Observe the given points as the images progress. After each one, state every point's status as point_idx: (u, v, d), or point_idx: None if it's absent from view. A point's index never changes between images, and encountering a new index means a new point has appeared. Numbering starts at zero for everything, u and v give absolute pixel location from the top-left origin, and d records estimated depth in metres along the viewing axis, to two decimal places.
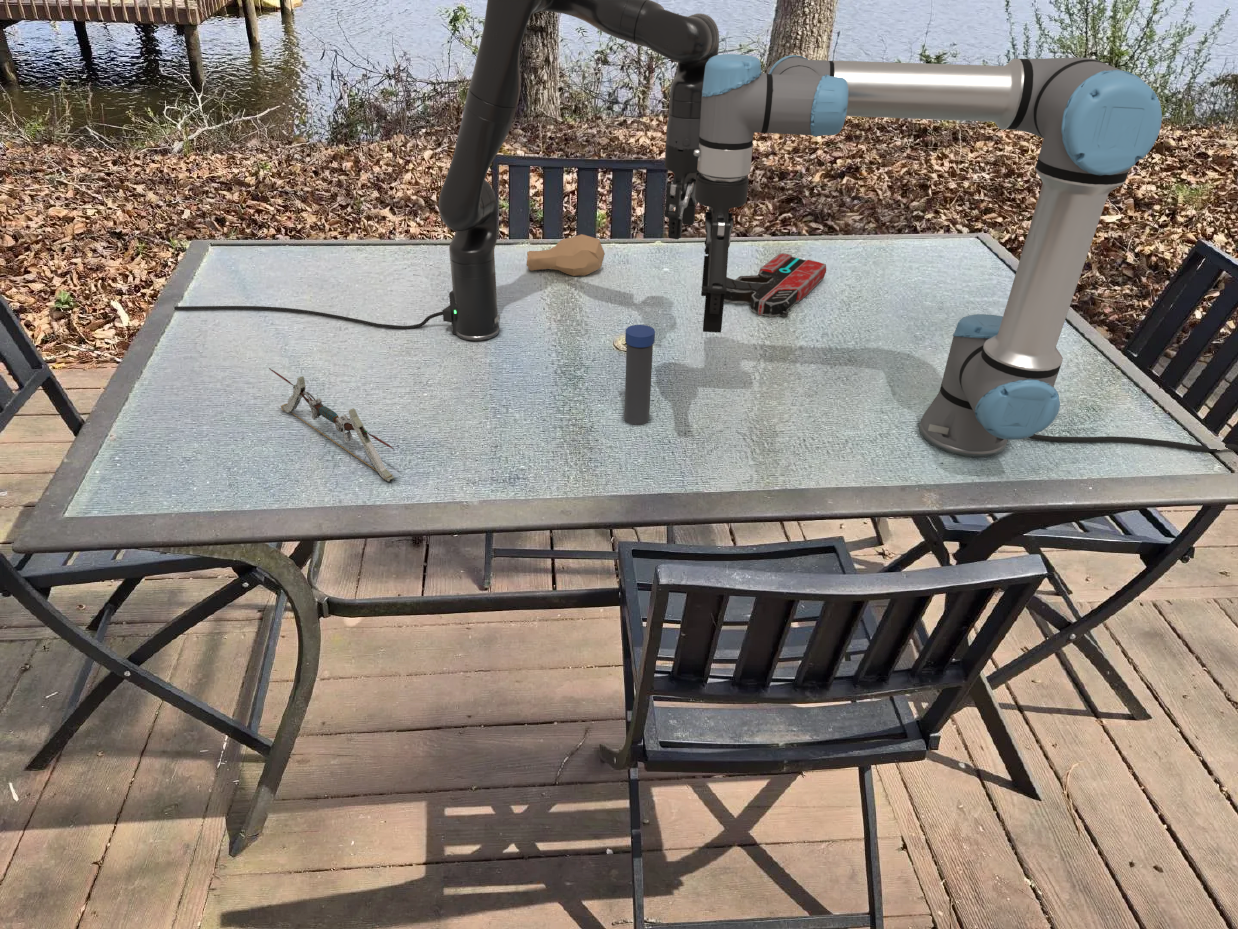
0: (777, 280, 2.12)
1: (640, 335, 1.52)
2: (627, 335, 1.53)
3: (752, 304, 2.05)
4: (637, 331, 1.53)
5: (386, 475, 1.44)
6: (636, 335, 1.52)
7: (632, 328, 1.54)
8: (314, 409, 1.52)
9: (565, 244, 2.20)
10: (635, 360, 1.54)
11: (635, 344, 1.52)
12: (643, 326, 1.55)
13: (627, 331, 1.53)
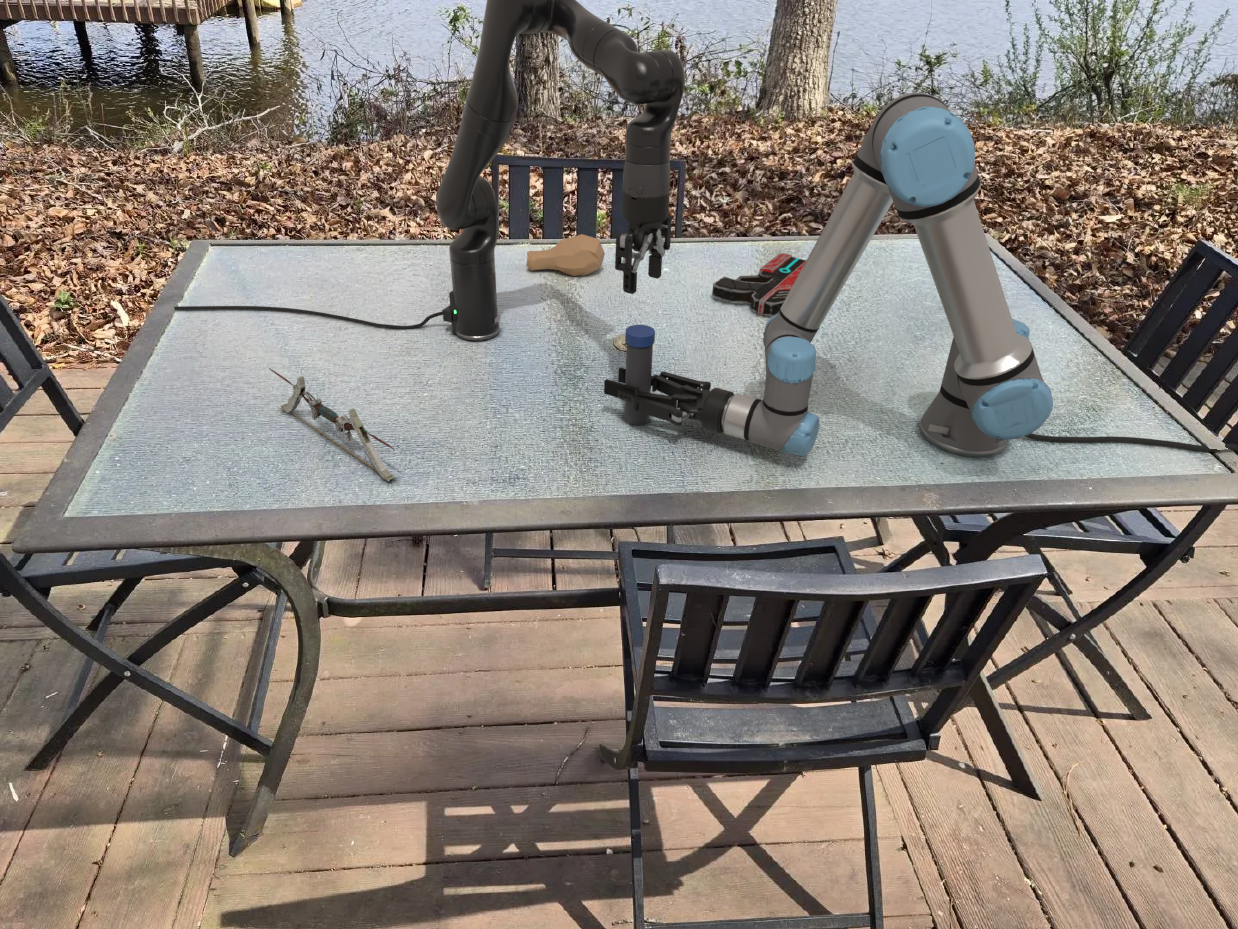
0: (777, 280, 2.12)
1: (640, 335, 1.52)
2: (627, 335, 1.53)
3: (752, 304, 2.05)
4: (637, 331, 1.53)
5: (386, 475, 1.44)
6: (636, 335, 1.52)
7: (632, 328, 1.54)
8: (314, 409, 1.52)
9: (565, 244, 2.20)
10: (635, 360, 1.54)
11: (635, 344, 1.52)
12: (643, 326, 1.55)
13: (627, 331, 1.53)
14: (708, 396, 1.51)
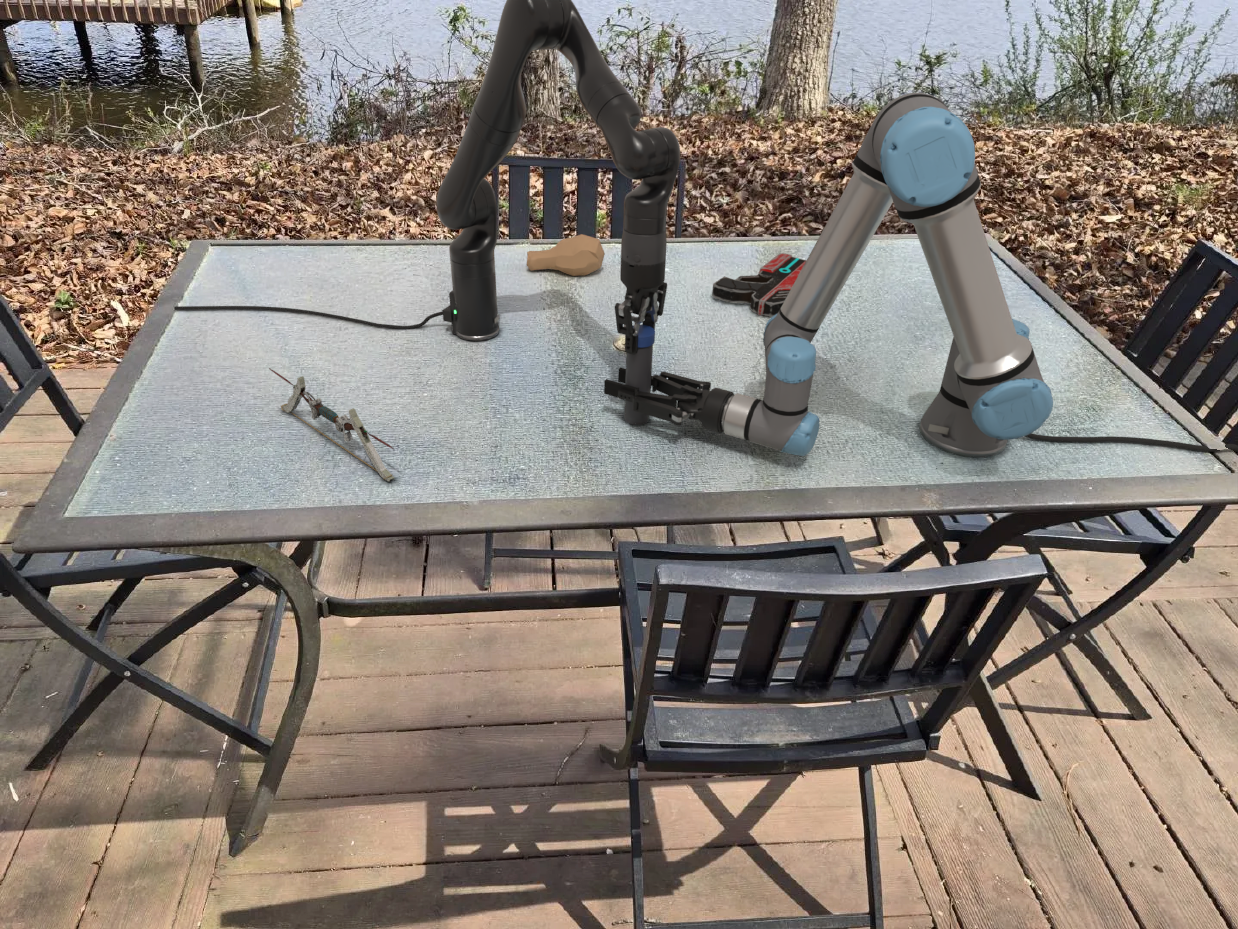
0: (777, 280, 2.12)
1: (640, 335, 1.52)
2: None
3: (752, 304, 2.05)
4: None
5: (386, 475, 1.44)
6: None
7: None
8: (314, 409, 1.52)
9: (565, 244, 2.20)
10: (635, 360, 1.54)
11: None
12: (643, 326, 1.55)
13: None
14: (708, 396, 1.51)
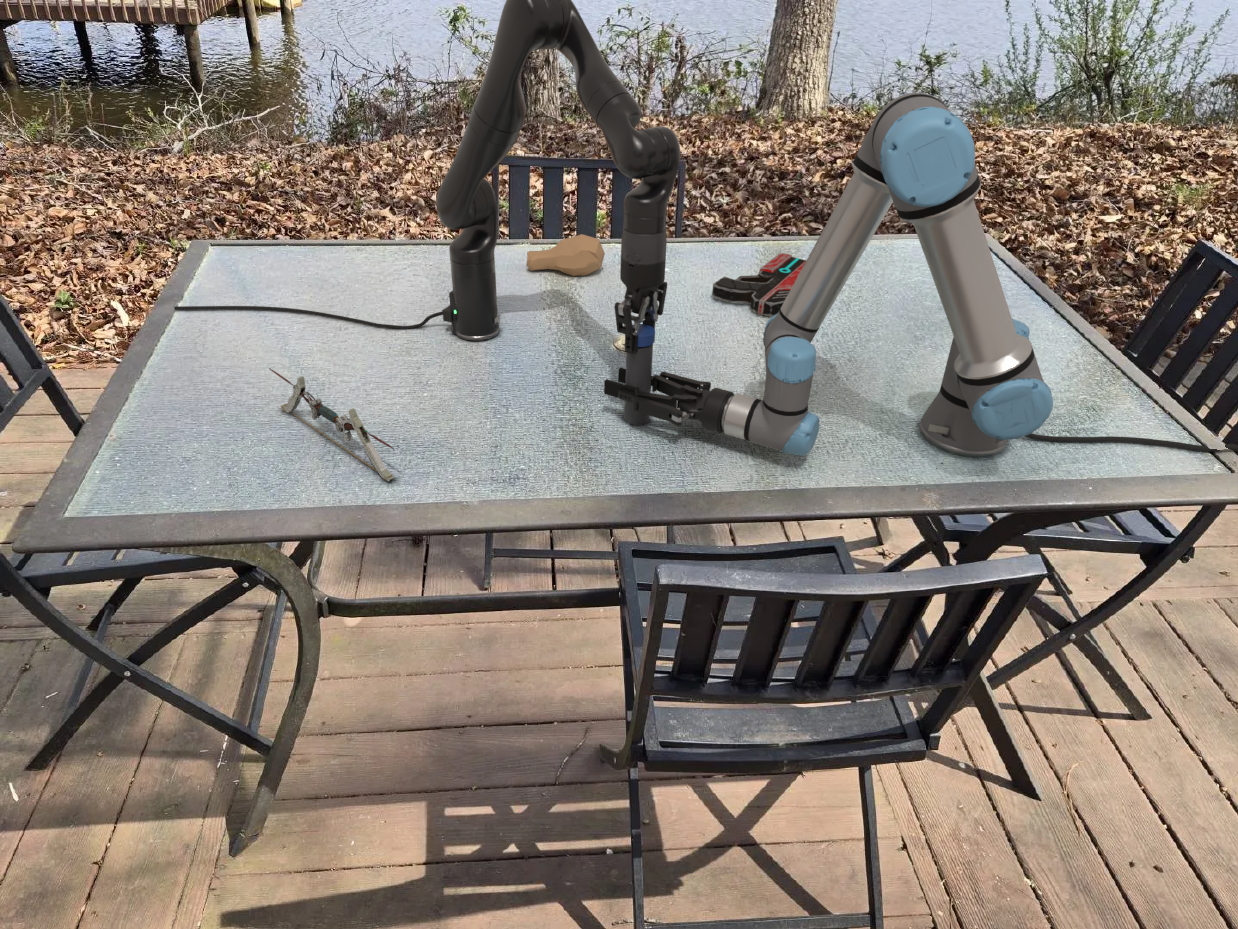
0: (777, 280, 2.12)
1: (650, 328, 1.54)
2: (651, 336, 1.52)
3: (752, 304, 2.05)
4: (643, 330, 1.53)
5: (386, 475, 1.44)
6: (652, 330, 1.54)
7: (639, 333, 1.52)
8: (314, 409, 1.52)
9: (565, 244, 2.20)
10: (636, 360, 1.54)
11: None
12: None
13: (647, 335, 1.52)
14: (708, 396, 1.51)
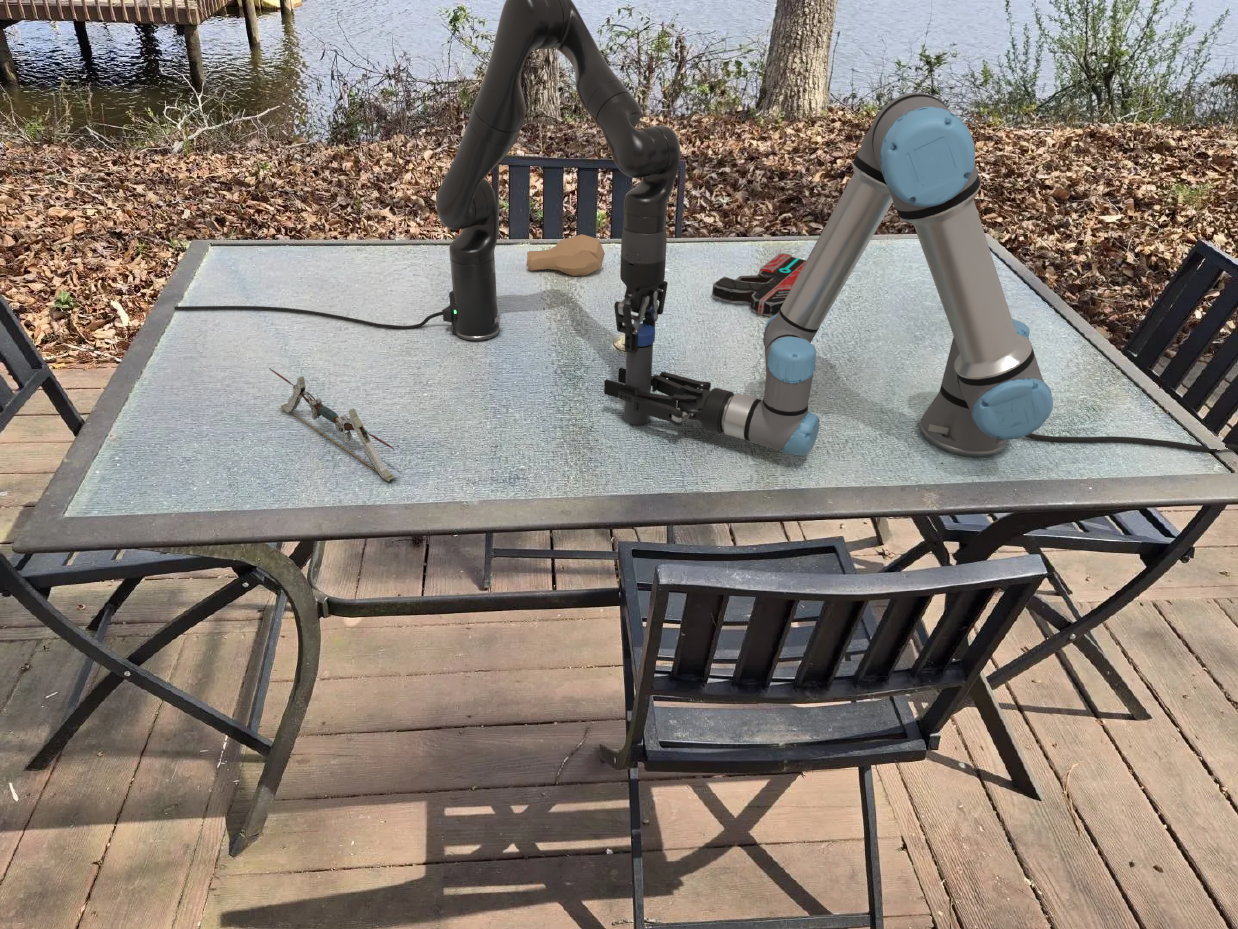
0: (777, 280, 2.12)
1: (633, 325, 1.55)
2: None
3: (752, 304, 2.05)
4: (641, 327, 1.54)
5: (386, 475, 1.44)
6: None
7: (649, 328, 1.54)
8: (314, 409, 1.52)
9: (565, 244, 2.20)
10: (636, 360, 1.54)
11: None
12: (644, 333, 1.52)
13: (648, 325, 1.55)
14: (708, 396, 1.51)
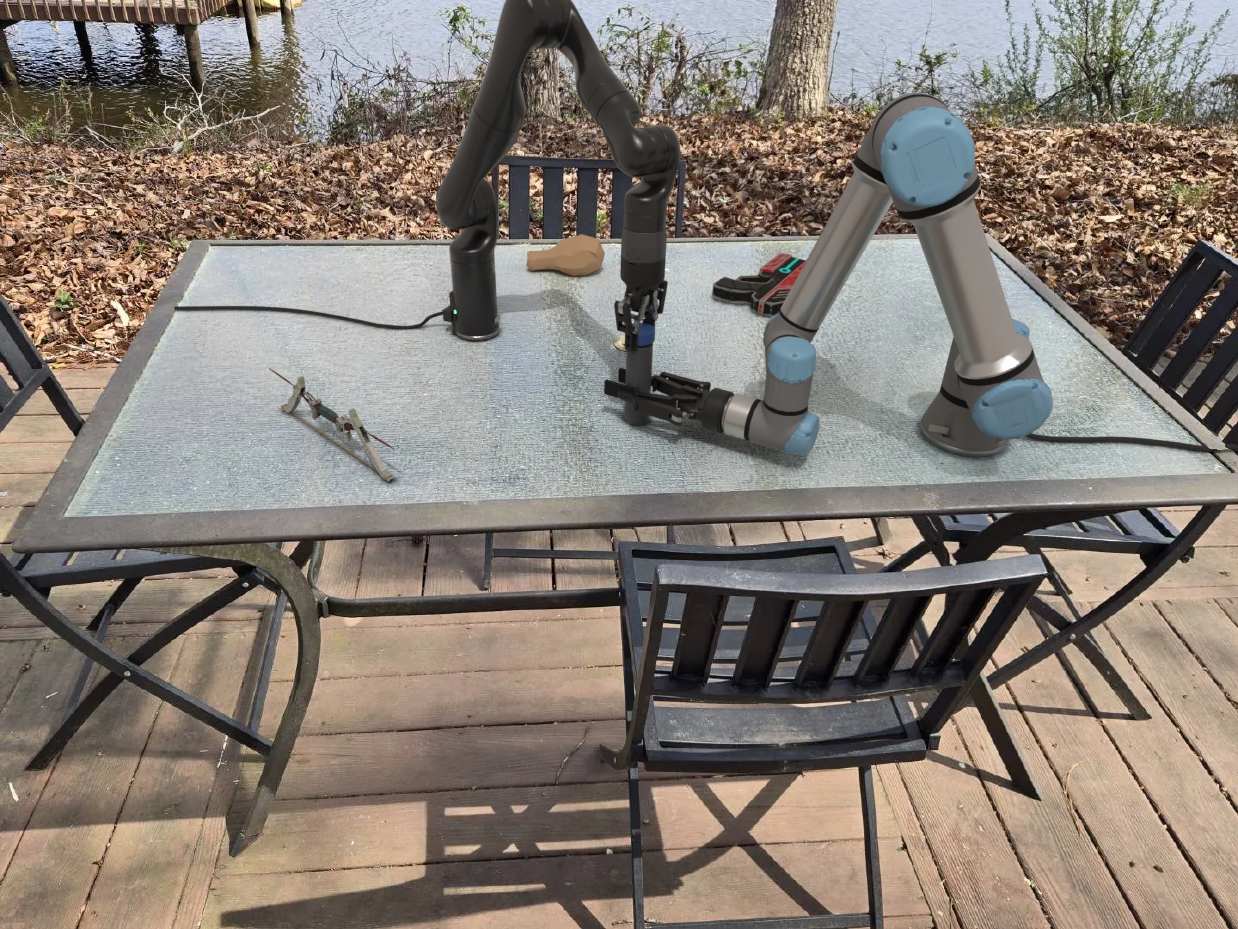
0: (777, 280, 2.12)
1: None
2: None
3: (752, 304, 2.05)
4: None
5: (386, 475, 1.44)
6: None
7: None
8: (314, 409, 1.52)
9: (565, 244, 2.20)
10: (636, 360, 1.54)
11: None
12: (648, 325, 1.54)
13: None
14: (708, 396, 1.51)
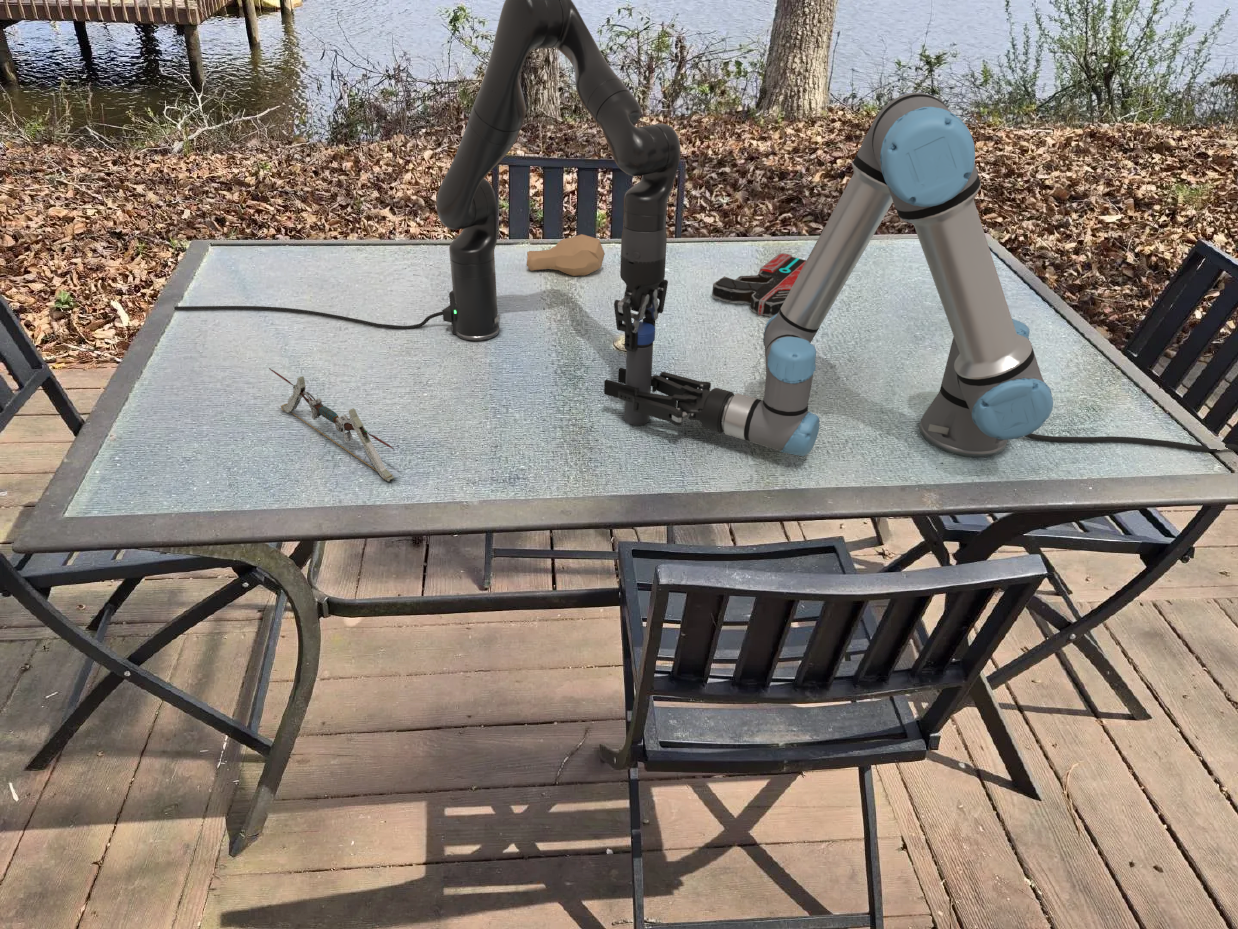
0: (777, 280, 2.12)
1: (651, 329, 1.53)
2: (645, 336, 1.52)
3: (752, 304, 2.05)
4: (642, 329, 1.53)
5: (386, 475, 1.44)
6: (651, 330, 1.52)
7: None
8: (314, 409, 1.52)
9: (565, 244, 2.20)
10: (636, 360, 1.54)
11: (653, 339, 1.53)
12: None
13: (641, 333, 1.51)
14: (708, 396, 1.51)
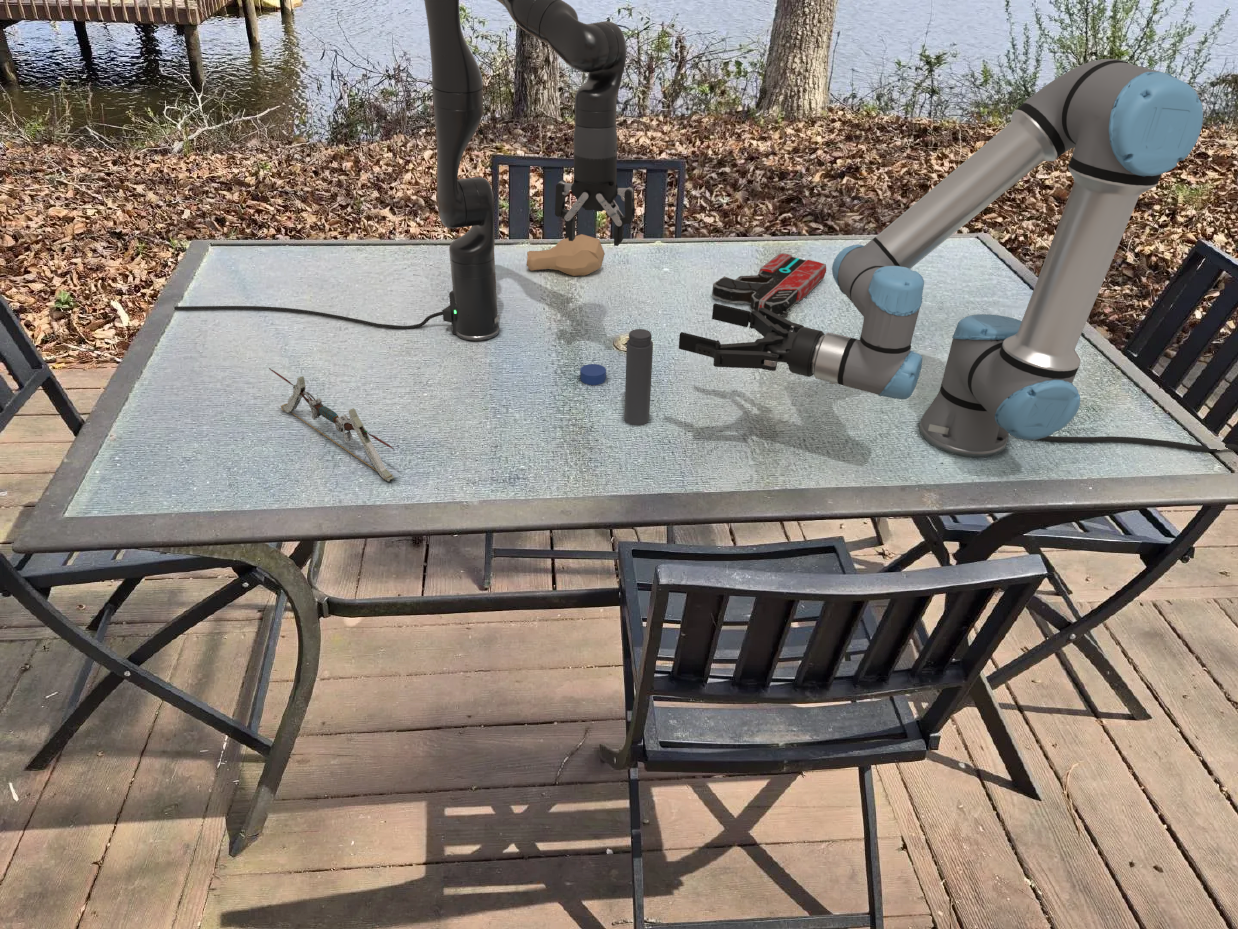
0: (777, 280, 2.12)
1: (591, 365, 1.77)
2: None
3: (752, 304, 2.05)
4: (595, 368, 1.75)
5: (386, 475, 1.44)
6: (595, 365, 1.77)
7: (600, 371, 1.75)
8: (314, 409, 1.52)
9: (565, 244, 2.20)
10: (636, 360, 1.54)
11: None
12: (591, 374, 1.74)
13: (603, 368, 1.76)
14: (797, 335, 1.37)
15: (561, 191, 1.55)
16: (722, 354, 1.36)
